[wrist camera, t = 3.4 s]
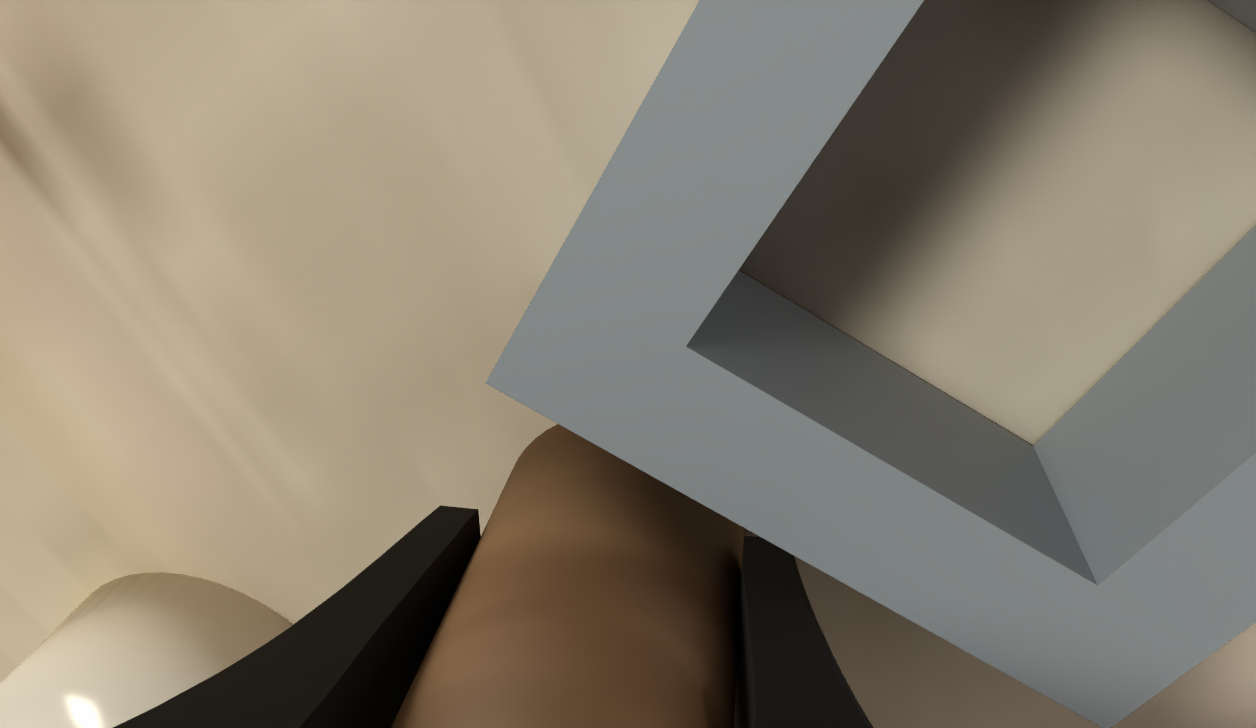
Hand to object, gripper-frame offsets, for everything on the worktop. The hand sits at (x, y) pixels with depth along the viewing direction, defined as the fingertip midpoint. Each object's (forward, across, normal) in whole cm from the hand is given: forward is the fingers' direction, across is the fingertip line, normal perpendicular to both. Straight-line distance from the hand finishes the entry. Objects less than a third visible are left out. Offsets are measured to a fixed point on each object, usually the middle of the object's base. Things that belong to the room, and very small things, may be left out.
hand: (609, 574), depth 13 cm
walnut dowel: (+1, 0, 0) cm, 1 cm away
